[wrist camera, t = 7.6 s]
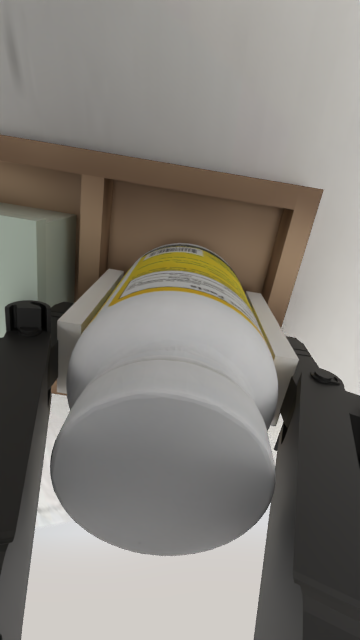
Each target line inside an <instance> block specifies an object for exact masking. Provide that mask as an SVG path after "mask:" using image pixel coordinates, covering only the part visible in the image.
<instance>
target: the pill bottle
mask: <svg viewBox="0 0 360 640" xmlns="http://www.w3.org/2000/svg"><path fill="white" fill-rule="evenodd" d="M66 390H67V399H68V404H69V408H70V413H69V415H68V417H67V418H66V420H65V422H64V424H63V426H62V428H61V430H60V432H59V434H58V436H57V438H56V440H55V443H54V447H53V450H52V455H51V463H50V473H51V480H52V485H53V488H54V491H55V493H56V495H57V497H58V499H59V501H60V503H61V505H62V506H63V508H64V509H65V510H66V512H67V513H68V514H69V516H70V517H71V518H72V519H73V520H74V521H75V522H76V523H77V524H79V525H80V526H81V527H82V528H84V529H85V530H86V531H87V532H89V533H90V534H92V535H94V536H95V537H97V538H99V539H101V540H103V541H105V542H107V543H109V544H111V545H114V546H117V547H119V548H122V549H126V550H129V551H133V552H137V553H142V554H150V555H159V556H176V555H187V554H194V553H199V552H204V551H208V550H211V549H214V548H216V547H219V546H222V545H225V544H227V543H229V542H231V541H233V540H235V539H236V538H238V537H240V536H241V535H243V534H244V533H245V532H247V531H248V530H249V529H250V528H251V527H252V526H254V525H255V524H256V523H257V522H258V521H259V519H260V518H261V517H262V516H263V514H264V513H265V512H266V510H267V508H268V506H269V504H270V502H271V500H272V497H273V494H274V488H275V482H276V481H275V465H274V460H273V456H272V451H271V447H270V442H269V438H268V433H267V431H268V429H269V427H270V425H271V422H272V420H273V417H274V414H275V410H276V406H277V399H278V380H277V374H276V369H275V365H274V361H273V358H272V355H271V353H270V350H269V348H268V345H267V343H266V341H265V339H264V336H263V334H262V332H261V330H260V328H259V325H258V323H257V320H256V318H255V316H254V314H253V311H252V309H251V307H250V304H249V302H248V300H247V298H246V295H245V293H244V291H243V289H242V286H241V284H240V282H239V280H238V278H237V276H236V274H235V273H234V271H233V270H232V268H231V267H230V266H229V265H228V264H227V263H226V262H225V261H224V260H223V259H222V258H221V257H220V256H219V255H217V254H216V253H214V252H212V251H210V250H209V249H207V248H204V247H201V246H198V245H194V244H188V243H174V244H167V245H163V246H160V247H157V248H155V249H153V250H151V251H149V252H147V253H146V254H144V255H143V256H141V257H140V258H139V259H138V260H137V261H136V262H135V263H134V264H133V265H132V266H131V267H130V269H129V270H128V271H127V273H126V274H125V275H124V277H123V278H122V279H121V281H120V282H119V284H118V285H117V286H116V288H115V289H114V291H113V292H112V293H111V295H110V296H109V298H108V299H107V300H106V302H105V303H104V304H103V306H102V307H101V308H100V310H99V311H98V312H97V314H96V315H95V316H94V318H93V319H92V320H91V322H90V323H89V324H88V326H87V327H86V329H85V330H84V331H83V333H82V334H81V336H80V338H79V340H78V342H77V344H76V346H75V348H74V350H73V352H72V355H71V358H70V361H69V365H68V370H67V377H66Z"/></svg>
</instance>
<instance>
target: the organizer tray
mask: <svg viewBox="0 0 360 640" xmlns="http://www.w3.org/2000/svg"><path fill="white" fill-rule="evenodd" d="M322 193H323V189H317V188H311V187H305V186H299V185H293V184H287V183H281V182H276V181H270V180H264V179H258V178H252V177H246V176H240V175H234V174H229V173H223V172H217V171H211V170H205V169H199V168H193V167H187V166H182V165H176V164H170V163H164V162H158V161H152V160H146V159H140V158H134V157H129V156H123V155H117V154H111V153H105V152H99V151H93V150H87V149H82V148H76V147H70V146H64V145H58V144H52V143H46V142H40V141H35V140H29V139H23V138H17V137H11V136H5V135H0V202H2V203H8V204H14V205H20V206H26V207H32V208H39V209H45V210H51V211H57V212H63V213H69V214H75V215H76V250H75V287H74V303H75V302H76V301H77V300H78V299H79V298H80V297H81V296H82V295H83V294H84V293H85V292H86V291H87V290H88V289H89V288H90V287H91V286H92V285H93V284H94V283H95V282H96V281H97V280H98V279H99V278H100V277H101V276H102V275H103V274H104V273H105V272H106V271H107V270H108V269H114V270H120V271H124V275H125V274H126V273H127V271H128V270H129V269H130V267H131V266H132V265H133V264H134V263H135V262H136V261H137V260H138V259H139V258H140V257H141V256H143V255H144V254H146V253H147V252H149V251H151V250H153V249H155V248H157V247H160V246H163V245H167V244H174V243H188V244H194V245H198V246H201V247H204V248H207V249H209V250H210V251H212V252H214V253H216V254H217V255H219V256H220V257H221V258H222V259H223V260H224V261H225V262H226V263H227V264H228V265H229V266H230V267H231V268H232V270H233V271H234V273H235V274H236V276H237V278H238V280H239V282H240V284H241V286H242V289H243V291H244V293H245V294H246V291H249V292H255V293H261V294H262V296H263V298H264V300H265V301H266V303H267V305H268V307H269V308H270V310H271V312H272V313H273V315H274V317H275V319H276V320H277V322H278V324H279V326H280V327H281V326H282V323H283V320H284V317H285V313H286V310H287V307H288V304H289V300H290V297H291V294H292V291H293V287H294V284H295V281H296V278H297V274H298V271H299V268H300V265H301V261H302V258H303V255H304V252H305V248H306V245H307V242H308V239H309V235H310V232H311V229H312V226H313V222H314V219H315V216H316V213H317V209H318V206H319V203H320V200H321V196H322ZM123 277H124V276H123ZM51 393H53V394H60V395H66V396H67V394H65V393H59V392H57V379H56V381H55V382H54V384H53V385H52V387H51Z"/></svg>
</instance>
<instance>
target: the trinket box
mask: <svg viewBox="0 0 360 640" xmlns="http://www.w3.org/2000/svg"><path fill="white" fill-rule="evenodd" d="M75 250H76V215H75V214H69V213H63V212H57V211H51V210H45V209H39V208H32V207H26V206H20V205H14V204H8V203H2V202H0V338H2V337H4V335H5V333H6V321H5V306H7V305H8V304H10V303H13V302H16V301H22V300H33V301H40V302H44V303H46V304H48V305H50V307H52V306H54V305H56V304H58V303H61V302H70V303H74V287H75Z"/></svg>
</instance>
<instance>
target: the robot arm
mask: <svg viewBox="0 0 360 640" xmlns="http://www.w3.org/2000/svg"><path fill="white" fill-rule="evenodd" d="M123 276H124V271H120V270H114V269H108V270H107V271H106V272H105V273H104V274H103V275H102V276H101V277H100V278H99V279H98V280H97V281H96V282H95V283H94V284H93V285H92V286H91V287H90V288H89V289H88V290H87V291H86V292H85V293H84V294H83V295H82V296H81V297H80V298H79V299H78V300H77V301H76V302H75V303H70V302H61V303H58V304H56V305H54V306H52V307H50V305H48V304H46V303H44V302H40V301H33V300H22V301H16V302H13V303H10V304H8V305H7V306H5V321H6V333H5V335H4V337H2V338H0V640H21V634H22V625H23V616H24V609H25V600H26V593H27V585H28V577H29V570H30V562H31V554H32V546H33V538H34V530H35V522H36V515H37V507H38V499H39V491H40V483H41V475H42V468H43V460H44V452H45V444H46V436H47V428H48V420H49V413H50V405H51V387H52V385H53V384H54V382H55V381H56V379H57V392H59V393H65V394H67V390H66V377H67V370H68V365H69V361H70V358H71V355H72V352H73V350H74V348H75V346H76V344H77V342H78V340H79V338H80V336H81V334H82V333H83V331H84V330H85V329H86V327H87V326H88V324H89V323H90V322H91V320H92V319H93V318H94V316H95V315H96V314H97V312H98V311H99V310H100V308H101V307H102V306H103V304H104V303H105V302H106V300H107V299H108V298H109V296H110V295H111V293H112V292H113V291H114V289H115V288H116V286H117V285H118V284H119V282H120V281H121V279H122V278H123ZM245 295H246V298H247V300H248V302H249V304H250V307H251V309H252V311H253V314H254V316H255V318H256V320H257V323H258V325H259V328H260V330H261V332H262V334H263V336H264V339H265V341H266V343H267V345H268V348H269V350H270V353H271V355H272V358H273V361H274V365H275V369H276V374H277V380H278V399H277V406H276V410H275V414H274V417H273V420H272V422H271V426H276V424H277V421H278V418H279V415H280V413H281V415H282V418H283V421H284V422H283V425H282V428H281V431H280V433H279V436H278V439H277V442H276V445H275V447H274V450H276V451H277V458H276V466H275V481H276V482H275V488H274V494H273V497H272V500H271V506H270V514H269V522H268V530H267V539H266V546H265V554H264V562H263V570H262V578H261V586H260V595H259V602H258V610H257V618H256V626H255V634H254V640H360V396H359V395H356V394H353V393H350V392H347V391H345V389H344V384H343V382H342V381H341V380H340V379H339V378H338V377H337V376H336V375H334V374H332V373H331V372H329V371H326V370H324V369H320V368H319V367H318V365H317V364H316V362H315V361H314V359H313V358H312V357H311V355H310V353H309V352H308V350H307V349H306V347H305V346H304V344H303V343H301V342H300V341H299V340H297V339H296V338H293V337H287V336H285V334H284V333H283V331H282V329H281V327H280V326H279V324H278V322H277V320H276V319H275V317H274V315H273V313H272V312H271V310H270V308H269V307H268V305H267V303H266V301H265V300H264V298H263V296H262V294H261V293H255V292H249V291H246V294H245Z"/></svg>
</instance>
